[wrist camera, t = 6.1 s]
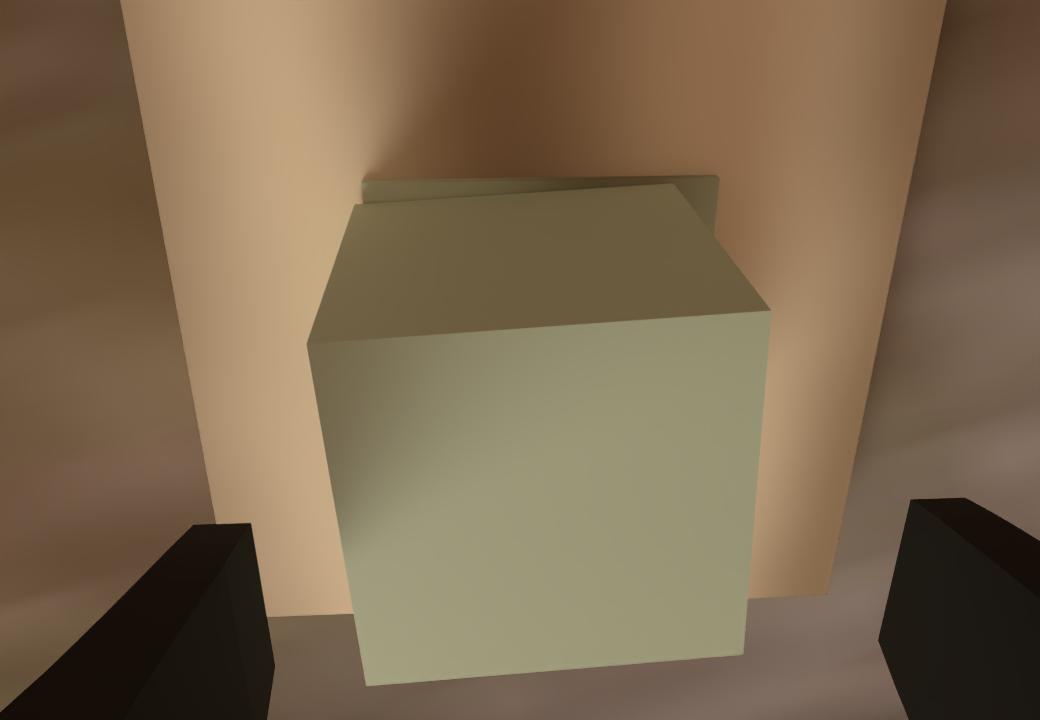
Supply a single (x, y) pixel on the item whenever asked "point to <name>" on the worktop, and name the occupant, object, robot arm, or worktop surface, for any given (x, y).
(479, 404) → the sage block
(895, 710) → the worktop surface
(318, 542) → the birch base block
